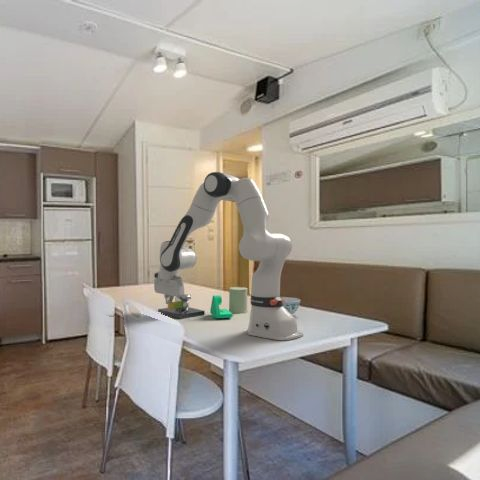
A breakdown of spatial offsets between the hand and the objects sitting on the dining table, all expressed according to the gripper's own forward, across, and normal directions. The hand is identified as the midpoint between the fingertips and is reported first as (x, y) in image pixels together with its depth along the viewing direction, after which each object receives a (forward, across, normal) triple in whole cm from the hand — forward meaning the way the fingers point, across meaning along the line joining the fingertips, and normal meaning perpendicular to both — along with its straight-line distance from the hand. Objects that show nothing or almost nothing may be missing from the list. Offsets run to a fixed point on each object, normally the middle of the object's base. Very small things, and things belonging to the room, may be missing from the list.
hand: (169, 304), depth 195 cm
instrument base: (+5, -3, -5) cm, 8 cm away
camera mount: (+5, -20, -15) cm, 26 cm away
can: (+5, -16, -30) cm, 34 cm away
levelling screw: (+3, -6, -2) cm, 7 cm away
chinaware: (+5, -38, -39) cm, 55 cm away
